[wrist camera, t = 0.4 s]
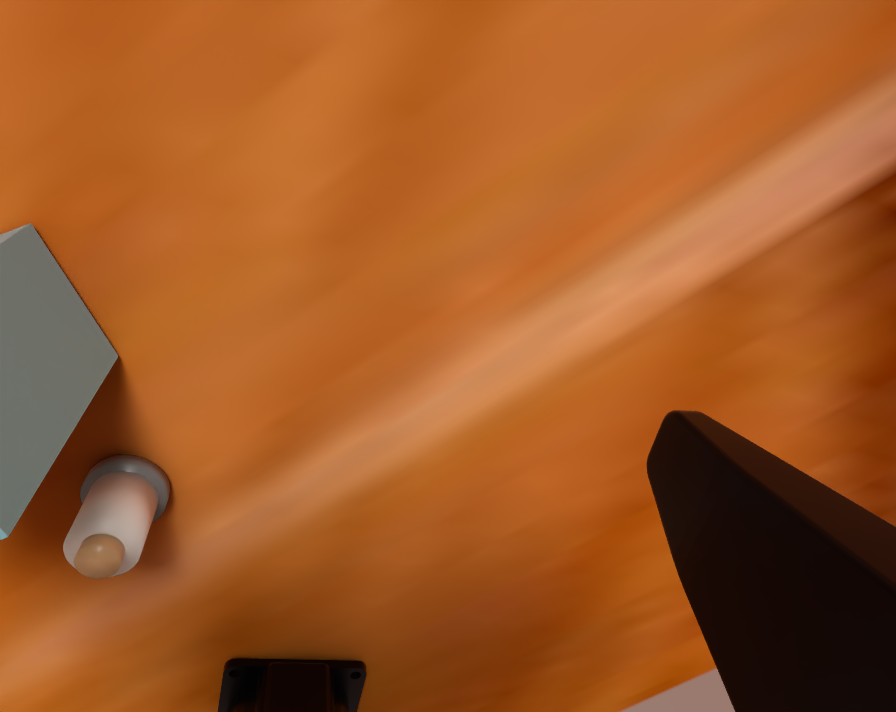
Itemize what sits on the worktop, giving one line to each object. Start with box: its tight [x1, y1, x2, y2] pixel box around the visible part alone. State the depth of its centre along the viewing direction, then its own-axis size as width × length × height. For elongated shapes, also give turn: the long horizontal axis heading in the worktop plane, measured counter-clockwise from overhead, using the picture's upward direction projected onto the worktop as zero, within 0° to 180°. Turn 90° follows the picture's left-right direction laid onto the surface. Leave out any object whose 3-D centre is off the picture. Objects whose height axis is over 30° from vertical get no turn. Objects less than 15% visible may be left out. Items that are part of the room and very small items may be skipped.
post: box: [63, 455, 170, 579], centre depth 23 cm, size 3×3×4 cm
